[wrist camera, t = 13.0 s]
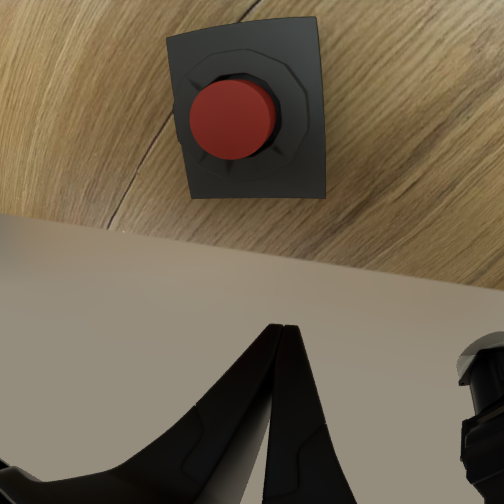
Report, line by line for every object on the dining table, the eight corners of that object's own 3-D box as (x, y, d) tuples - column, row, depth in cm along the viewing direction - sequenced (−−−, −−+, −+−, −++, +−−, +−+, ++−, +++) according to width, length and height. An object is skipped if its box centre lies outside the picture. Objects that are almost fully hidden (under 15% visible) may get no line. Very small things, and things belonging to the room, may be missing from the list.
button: (279, 149, 14) (273, 158, 13) (208, 152, 15) (195, 162, 13) (272, 75, 12) (266, 76, 11) (199, 84, 13) (183, 86, 11)
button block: (326, 185, 18) (325, 213, 15) (203, 186, 20) (178, 212, 17) (317, 23, 13) (314, 8, 9) (182, 40, 15) (148, 35, 11)
